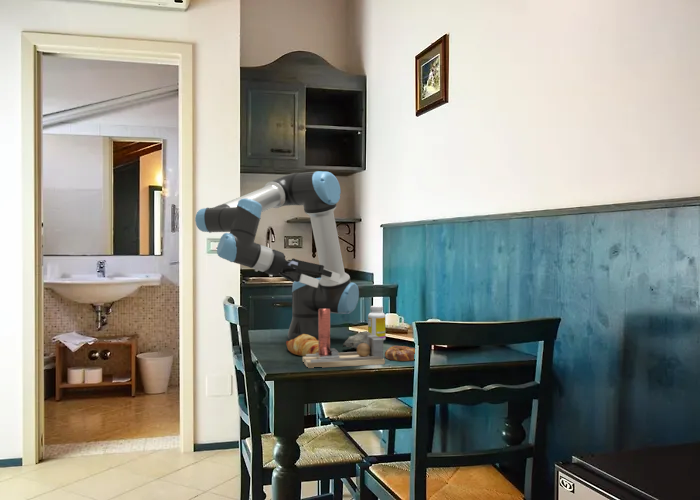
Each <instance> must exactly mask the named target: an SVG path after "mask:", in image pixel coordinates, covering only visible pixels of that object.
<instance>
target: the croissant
mask: <svg viewBox="0 0 700 500" xmlns="http://www.w3.org/2000/svg"><path fill="white" fill-rule="evenodd" d="M285 344H286V347H287V350H288V351H289V352H290V353H291V354H293V355H297V356H301V357H306V354H316V352H319V340H317V339H316V338H315V337H313V336H310V335H307V334H302V335H299V336H298V337H297V338H295V339H292V340H290V339H289V340H286V342H285Z"/></svg>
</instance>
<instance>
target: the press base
mask: <svg viewBox="0 0 700 500" xmlns="http://www.w3.org/2000/svg"><path fill="white" fill-rule="evenodd" d="M338 355H339V356H340V358H333V359H318V358H317V357H316V354H306V356H302V363H303V362H304V363H303V364H304V365H305V366H306V368H307V367H308V368H307V369H315V368H314V367H322V368H337V367H340V368H341V367H356V366H358V367H359V366H373V365H377V366H378V365H385V363H386V358H384V340H383V339H382V338H380V337H378V336H376V335H370V336H367V344H366V343H361V344H359V345H358V347H357V349H356V351H347V352H338Z"/></svg>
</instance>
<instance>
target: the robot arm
mask: <svg viewBox="0 0 700 500" xmlns="http://www.w3.org/2000/svg"><path fill="white" fill-rule="evenodd" d="M341 193H342V191H341V185H340V182H339V180H338V179H337V177H336V176H335V175H334V174H333V173H332V172H329V171H321V170H320V171H319V170H316V171H307V172H306V171H305V172H293V173H290V174H286V175H284V176H281V177H279V178H276V179H273V180H270V181H268V182H267V183H265V184H264V186H263V187H261V188H258V189H255V190H254V191H252V192H249V193H246V194H244V195H242V196H240V197H236V198H235V199H232V200H229V201H227V202H224V203H222V204H219V205H216V206H214V207H206V208H205V207H203V208H200V209H198V211H197V212H196V214H195V217H194V218H195V219H194V221H195V225H196V227H197V229H198V230H199V231H201V232H204V233H209V234H211V233H223V234H222V236H221V237H220V239H219V242H218V244H217V248H216V253H217V256H218V257H219V258H220V259H221V258H222V259H223V260H226V261H228V262H230V263H234V264H238V265H242V266H245V267H247V268H251V269H253V270H254V272H258V271H259V272H262V273H263V272H264V273H265V274H267V275H270V276H273V277H276V276H280V277H283V278H284V279H286V280H287V281H290V282H292V290H291V295H292V296H291V299H292V301H291V302H292V304H291V307H292V310H291V311H292V318H291V322H290V325H289V328H288V331H287V339H288V340H289V341H290V340H292V339H295V338H297V337H298V336H299V335H302V334H307V335H310V336H313V337H315V338H316V339H317V340H319V309H321V308H328V309H330V314H338V315H344V314H345V315H346V314H348V315H349V314H351V313H352V312H353V311H354V310H355V309H356V308H357V305H358V302H359V297H360V291H359V286H358V284H356V283H355V282H351V277H350V275H349V273H347V272H345V267H344V266H345V265H344V262H343V261H344V260H343V257H342V251H341V245H340V241H339V239H340V238H339V235H338V229H337V223H336V218H335V213H334V212H335V210H336V209H337V204H338V203H339V201H340V199H341ZM285 206H287V207H289V206H303V211H304V213H305V214H307V215H308V216H309V218H310V224H311V228H312V229H311V230H312V233H313V239H314V243H315V248H316V253H317V259H318V263H312V262H308V261H304V260H299V259H296V258H291V259H288V260H287V259H286V257H285V253H284V252H282V251H280V250H276V249H272V248H271V247H270V246H269V247H268V246H265V245H263V244H259V243H256V242H255V241H256V240H255V239H256V235H257V232H258V229H259V225H260V222H261V217H262V216H261V215H262V213H263V212H265V211H268V210H270V209H279V208H281V207H285ZM307 274H308V275H307ZM310 275H315V276H318V277H316V278H315V277H312V276H310Z"/></svg>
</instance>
